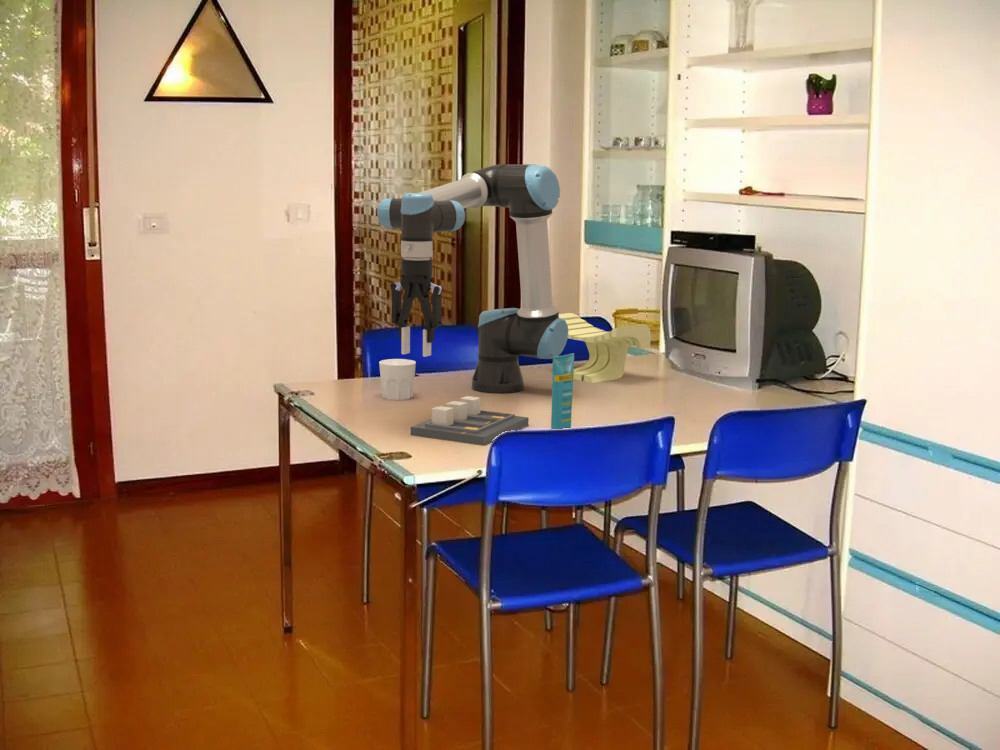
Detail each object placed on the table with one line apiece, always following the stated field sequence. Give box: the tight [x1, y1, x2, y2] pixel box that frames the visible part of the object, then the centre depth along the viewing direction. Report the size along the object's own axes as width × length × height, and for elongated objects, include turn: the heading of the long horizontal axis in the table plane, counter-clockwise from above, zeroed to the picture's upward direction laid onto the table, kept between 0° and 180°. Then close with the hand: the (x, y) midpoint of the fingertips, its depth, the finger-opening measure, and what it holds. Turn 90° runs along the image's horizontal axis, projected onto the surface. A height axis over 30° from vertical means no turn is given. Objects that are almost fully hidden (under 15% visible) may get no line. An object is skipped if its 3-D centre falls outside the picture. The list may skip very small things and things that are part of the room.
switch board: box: [410, 409, 529, 446], centre depth 289 cm, size 20×24×3 cm
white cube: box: [431, 405, 454, 426], centre depth 284 cm, size 4×4×4 cm
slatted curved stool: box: [559, 312, 652, 384], centre depth 360 cm, size 30×16×18 cm, turn 44°
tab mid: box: [445, 400, 467, 420], centre depth 290 cm, size 4×4×4 cm
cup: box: [378, 358, 417, 401], centre depth 325 cm, size 10×10×10 cm
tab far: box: [459, 395, 482, 415], centre depth 296 cm, size 4×4×4 cm
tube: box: [550, 353, 575, 430], centre depth 287 cm, size 7×5×19 cm, turn 139°
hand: (416, 354), depth 285 cm, fingers open, 5 cm apart
